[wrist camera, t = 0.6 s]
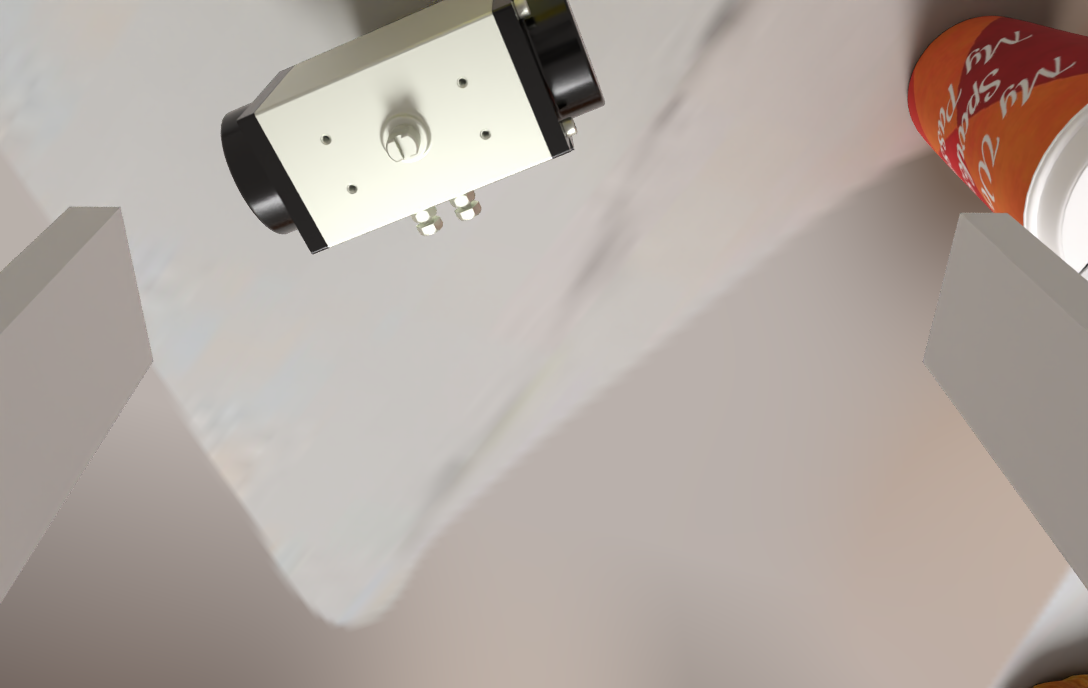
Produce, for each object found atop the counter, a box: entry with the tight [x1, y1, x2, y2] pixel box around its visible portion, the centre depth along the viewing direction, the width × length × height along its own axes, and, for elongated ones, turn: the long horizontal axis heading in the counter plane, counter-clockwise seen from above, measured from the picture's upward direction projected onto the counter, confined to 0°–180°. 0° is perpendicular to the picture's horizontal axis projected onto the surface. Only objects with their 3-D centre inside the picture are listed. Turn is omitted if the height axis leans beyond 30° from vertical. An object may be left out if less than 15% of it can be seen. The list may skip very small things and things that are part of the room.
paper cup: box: [908, 16, 1088, 281], centre depth 33 cm, size 8×8×14 cm
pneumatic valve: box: [221, 0, 605, 254], centre depth 33 cm, size 6×12×12 cm, turn 112°
